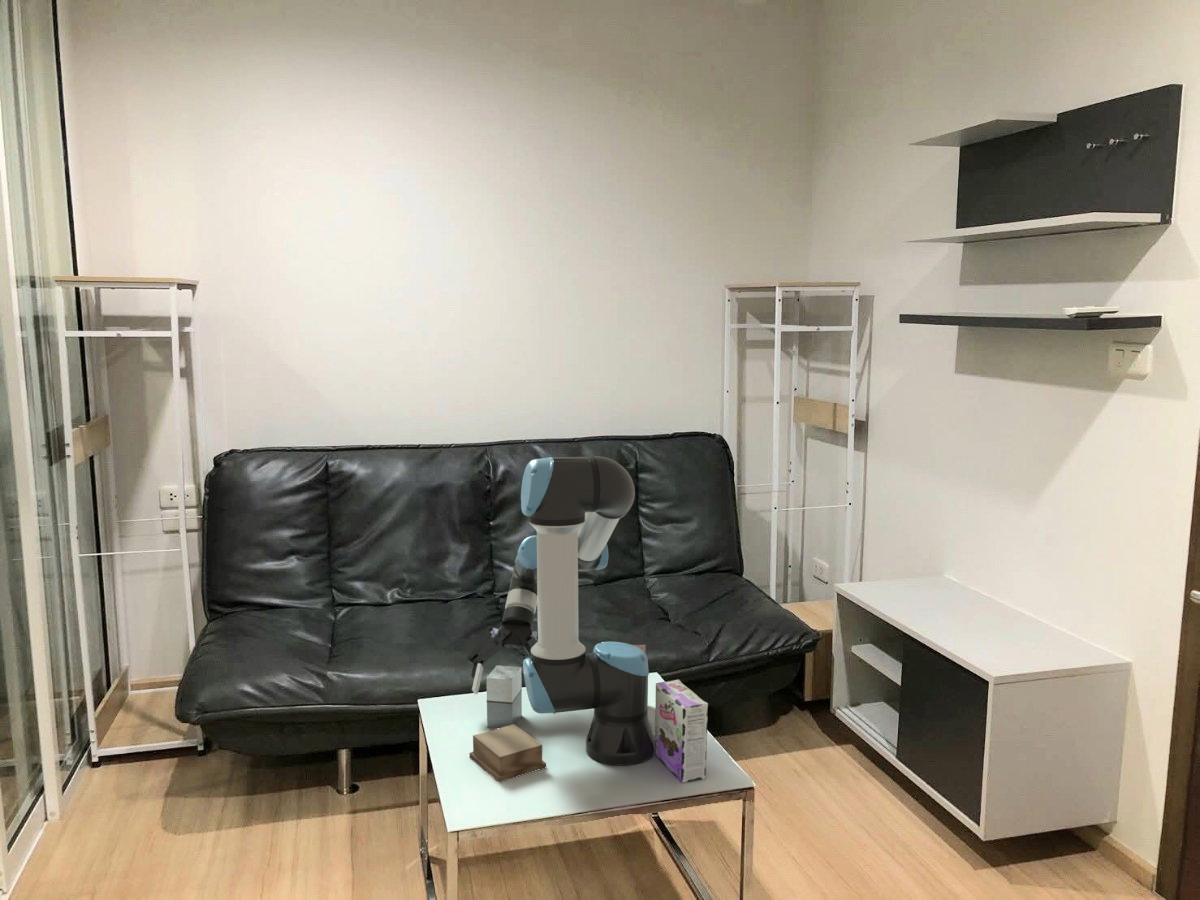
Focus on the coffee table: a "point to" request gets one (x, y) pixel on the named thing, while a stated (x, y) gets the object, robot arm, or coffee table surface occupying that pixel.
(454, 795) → the coffee table surface
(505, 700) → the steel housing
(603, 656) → the robot arm
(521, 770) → the walnut stand
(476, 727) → the coffee table surface
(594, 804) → the coffee table surface
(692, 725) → the candy box
